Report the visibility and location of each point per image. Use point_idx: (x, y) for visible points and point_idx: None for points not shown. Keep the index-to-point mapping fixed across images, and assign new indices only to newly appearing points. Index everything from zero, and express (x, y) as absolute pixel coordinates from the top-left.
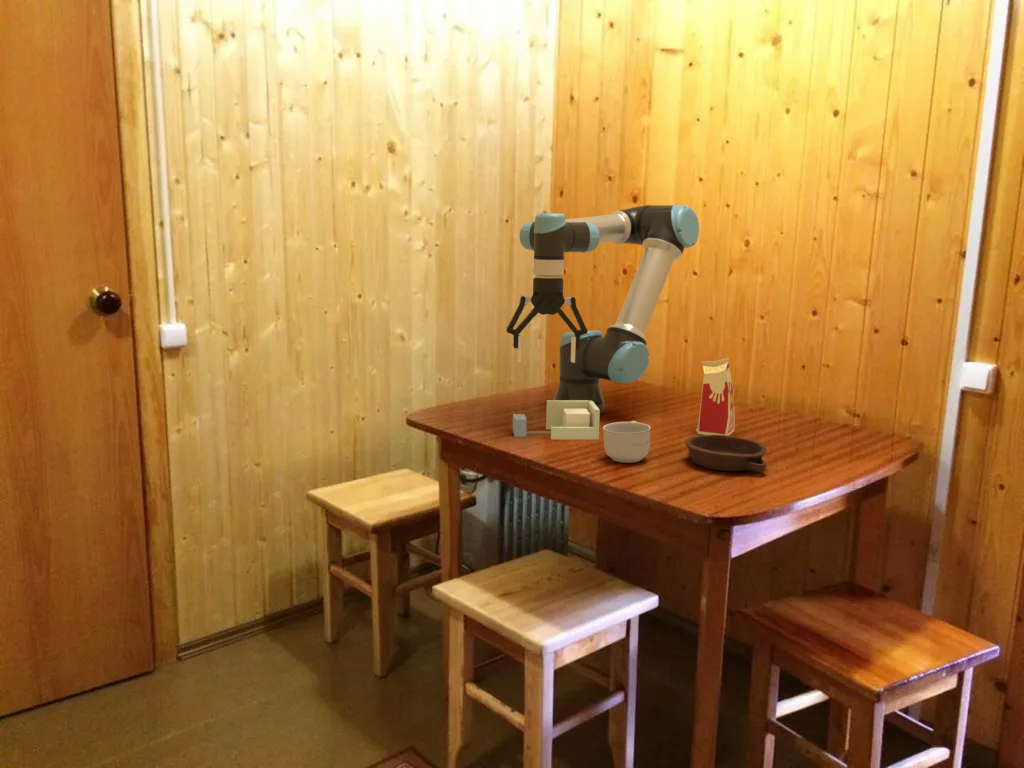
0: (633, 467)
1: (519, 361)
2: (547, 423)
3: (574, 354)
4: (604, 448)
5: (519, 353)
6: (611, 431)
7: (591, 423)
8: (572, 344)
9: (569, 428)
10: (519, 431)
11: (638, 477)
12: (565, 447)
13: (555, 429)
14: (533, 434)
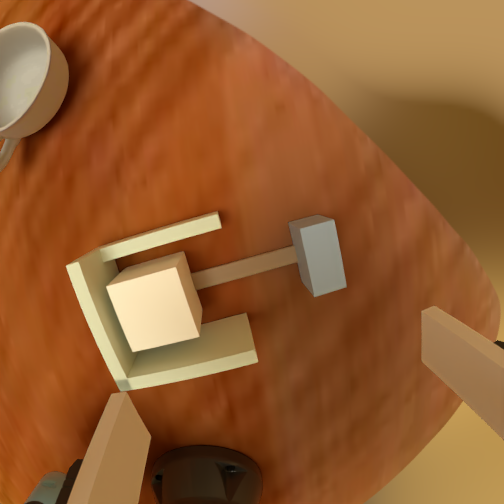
0: None
1: (429, 310)
2: (245, 319)
3: (102, 423)
4: (67, 73)
5: (458, 327)
6: (35, 26)
7: None
8: (101, 473)
9: (165, 228)
10: (309, 219)
11: (34, 3)
12: (169, 143)
13: (205, 216)
14: (272, 251)
